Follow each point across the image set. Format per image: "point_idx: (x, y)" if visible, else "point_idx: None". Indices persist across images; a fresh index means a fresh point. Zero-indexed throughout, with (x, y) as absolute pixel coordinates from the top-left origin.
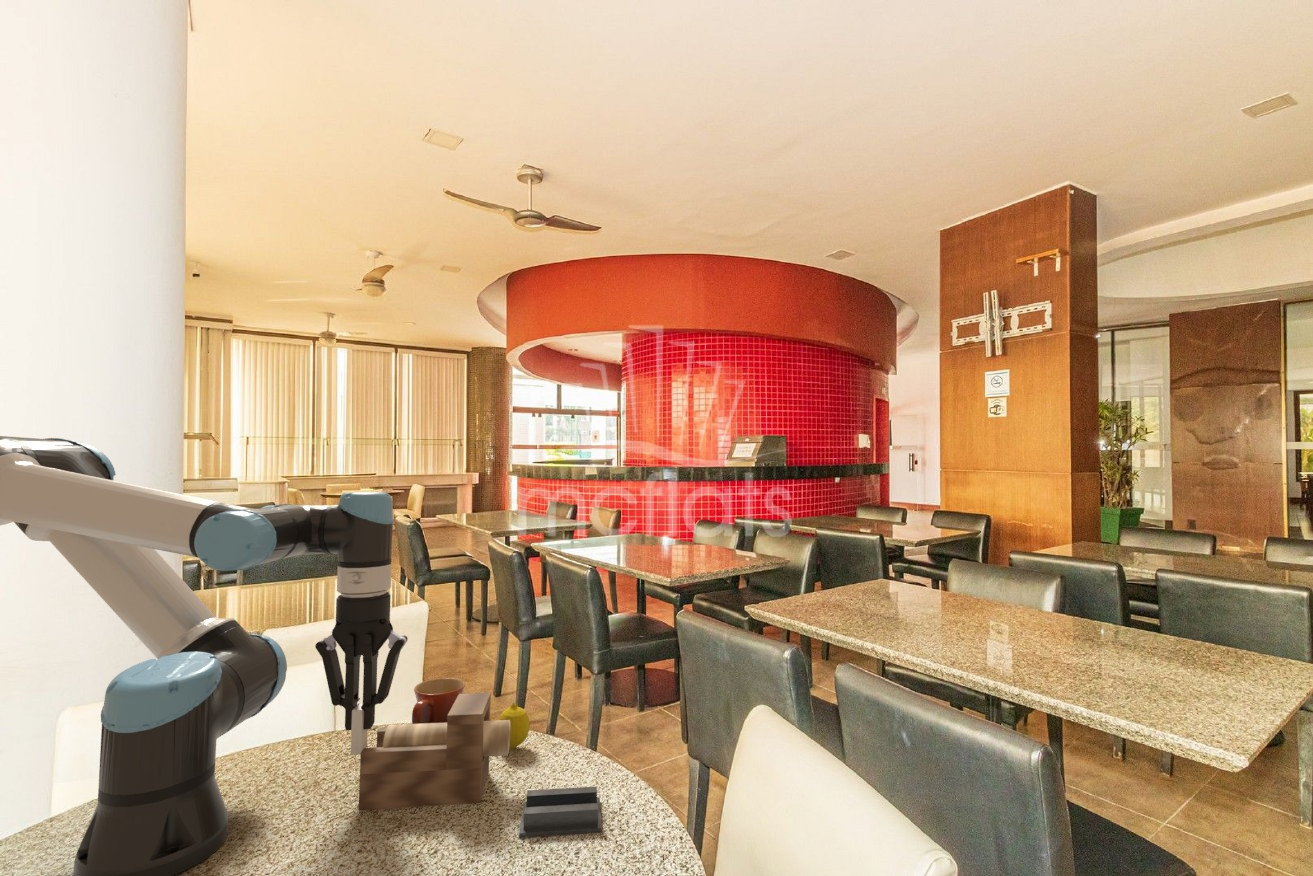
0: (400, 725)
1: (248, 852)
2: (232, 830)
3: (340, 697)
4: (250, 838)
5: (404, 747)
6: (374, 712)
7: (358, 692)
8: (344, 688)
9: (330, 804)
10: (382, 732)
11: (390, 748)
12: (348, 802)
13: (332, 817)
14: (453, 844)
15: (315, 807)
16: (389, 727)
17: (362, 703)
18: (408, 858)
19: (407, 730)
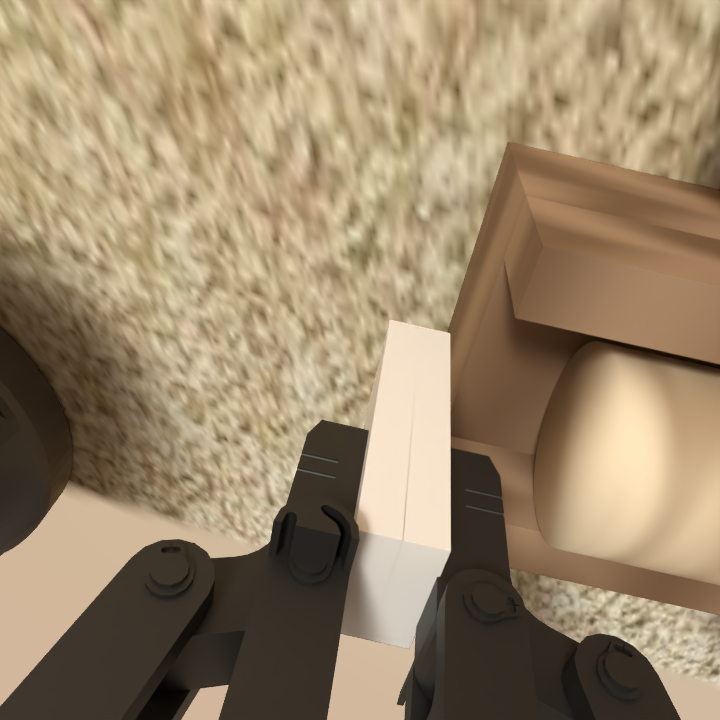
0: (678, 538)
1: (162, 478)
2: (51, 360)
3: (189, 702)
4: (132, 419)
5: (652, 571)
6: (503, 543)
7: (336, 648)
8: (161, 670)
9: (322, 303)
10: (552, 321)
11: (578, 555)
12: (388, 311)
13: (348, 391)
14: (692, 616)
15: (270, 306)
16: (599, 538)
17: (393, 539)
18: (569, 621)
19: (707, 578)
